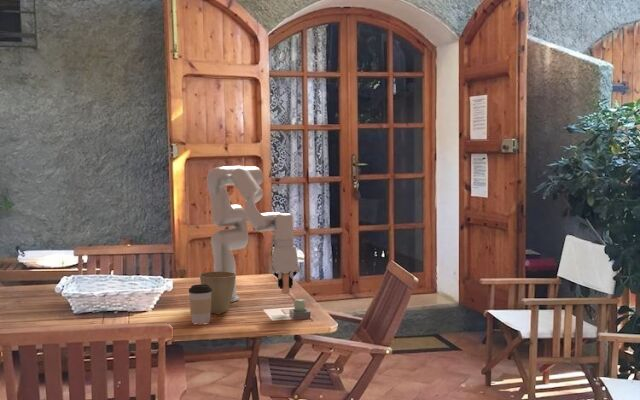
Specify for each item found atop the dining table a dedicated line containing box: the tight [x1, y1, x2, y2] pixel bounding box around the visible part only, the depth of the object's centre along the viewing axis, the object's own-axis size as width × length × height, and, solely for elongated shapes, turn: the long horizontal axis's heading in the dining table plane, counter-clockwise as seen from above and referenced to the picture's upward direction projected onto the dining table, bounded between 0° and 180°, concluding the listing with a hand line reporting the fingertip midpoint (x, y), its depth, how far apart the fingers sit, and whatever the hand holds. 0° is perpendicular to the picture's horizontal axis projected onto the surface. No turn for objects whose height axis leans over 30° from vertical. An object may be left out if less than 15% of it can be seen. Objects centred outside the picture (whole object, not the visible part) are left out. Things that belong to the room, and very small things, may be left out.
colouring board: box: [263, 306, 313, 322], centre depth 304 cm, size 16×20×1 cm
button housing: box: [289, 307, 312, 320], centre depth 299 cm, size 7×7×2 cm
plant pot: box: [199, 271, 237, 315], centre depth 310 cm, size 15×15×16 cm
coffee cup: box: [188, 283, 212, 325], centre depth 293 cm, size 9×9×15 cm
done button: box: [293, 298, 306, 312], centre depth 299 cm, size 4×4×5 cm
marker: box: [281, 271, 291, 295], centre depth 306 cm, size 3×3×11 cm
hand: (285, 287), depth 306 cm, fingers closed on marker, 3 cm apart
